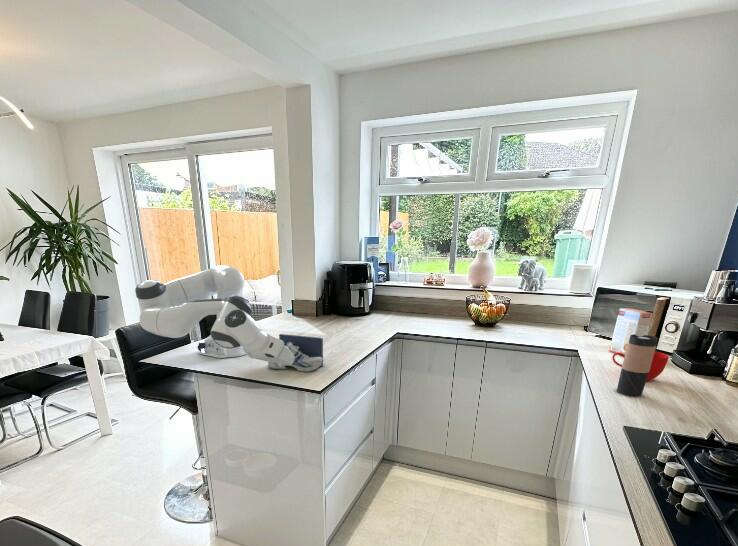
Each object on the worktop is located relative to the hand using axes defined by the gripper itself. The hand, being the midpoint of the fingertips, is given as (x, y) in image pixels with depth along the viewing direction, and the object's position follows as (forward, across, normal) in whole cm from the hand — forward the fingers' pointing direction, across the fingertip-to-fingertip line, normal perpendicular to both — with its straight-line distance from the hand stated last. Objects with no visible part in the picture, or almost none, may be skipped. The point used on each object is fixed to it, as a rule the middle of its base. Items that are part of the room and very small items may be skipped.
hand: (278, 364), depth 150 cm
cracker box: (+82, +116, +75) cm, 161 cm away
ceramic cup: (+55, +117, +48) cm, 138 cm away
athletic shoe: (+13, -2, +5) cm, 14 cm away
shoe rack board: (+18, -4, +10) cm, 21 cm away
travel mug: (+40, +114, +32) cm, 125 cm away
